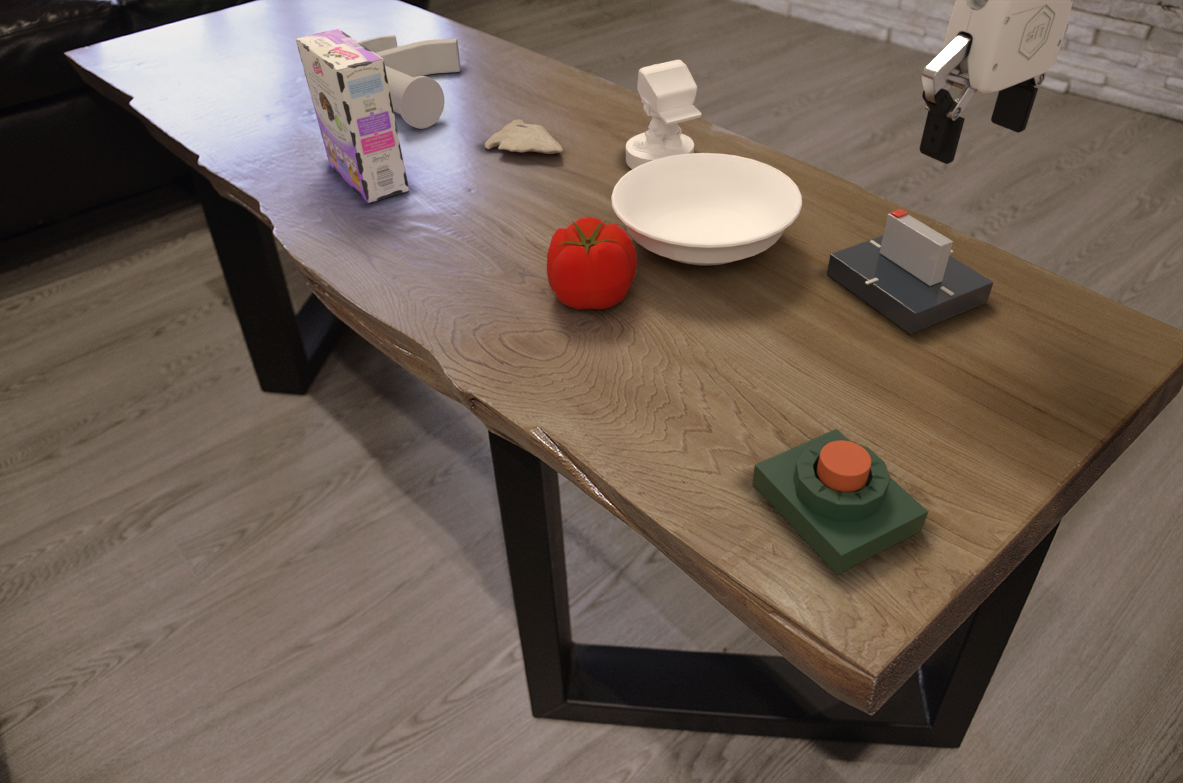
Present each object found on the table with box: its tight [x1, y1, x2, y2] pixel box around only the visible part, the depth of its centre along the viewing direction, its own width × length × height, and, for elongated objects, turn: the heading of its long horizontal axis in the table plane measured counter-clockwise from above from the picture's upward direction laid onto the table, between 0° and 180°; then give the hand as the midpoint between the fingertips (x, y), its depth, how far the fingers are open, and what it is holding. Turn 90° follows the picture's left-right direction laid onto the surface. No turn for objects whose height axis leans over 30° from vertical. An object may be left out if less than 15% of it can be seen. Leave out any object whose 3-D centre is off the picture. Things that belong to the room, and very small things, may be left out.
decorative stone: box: [484, 119, 564, 155], centre depth 111 cm, size 8×12×3 cm
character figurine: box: [625, 59, 703, 170], centre depth 104 cm, size 9×10×12 cm
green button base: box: [751, 428, 929, 575], centre depth 63 cm, size 10×8×4 cm
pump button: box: [817, 440, 871, 492], centre depth 61 cm, size 4×4×2 cm
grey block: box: [880, 208, 954, 286], centre depth 82 cm, size 7×2×5 cm, turn 28°
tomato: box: [546, 216, 638, 311], centre depth 84 cm, size 9×9×8 cm
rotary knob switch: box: [826, 234, 994, 335], centre depth 85 cm, size 12×11×3 cm
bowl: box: [610, 152, 803, 266], centre depth 91 cm, size 20×20×6 cm
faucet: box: [358, 34, 462, 129], centre depth 127 cm, size 20×7×25 cm
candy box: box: [295, 28, 410, 204], centre depth 103 cm, size 14×6×16 cm, turn 34°
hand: (972, 141), depth 75 cm, fingers open, 9 cm apart
